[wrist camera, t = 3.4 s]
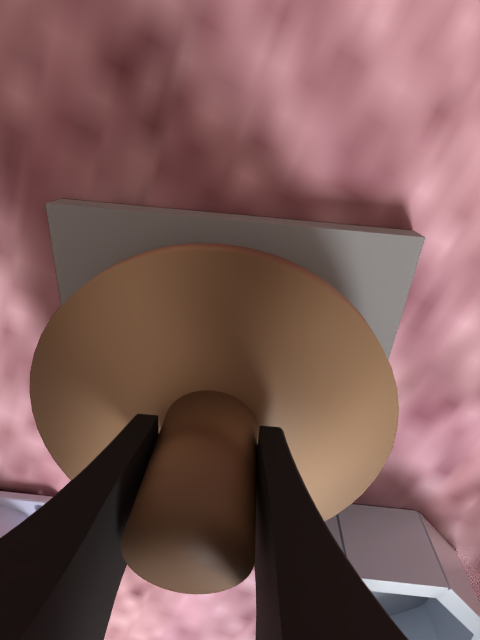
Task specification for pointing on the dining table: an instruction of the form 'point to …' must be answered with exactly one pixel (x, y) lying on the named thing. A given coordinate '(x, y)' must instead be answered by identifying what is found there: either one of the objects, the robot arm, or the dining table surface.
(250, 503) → the lid
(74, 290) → the mat
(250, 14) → the dining table surface
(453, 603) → the bowl
